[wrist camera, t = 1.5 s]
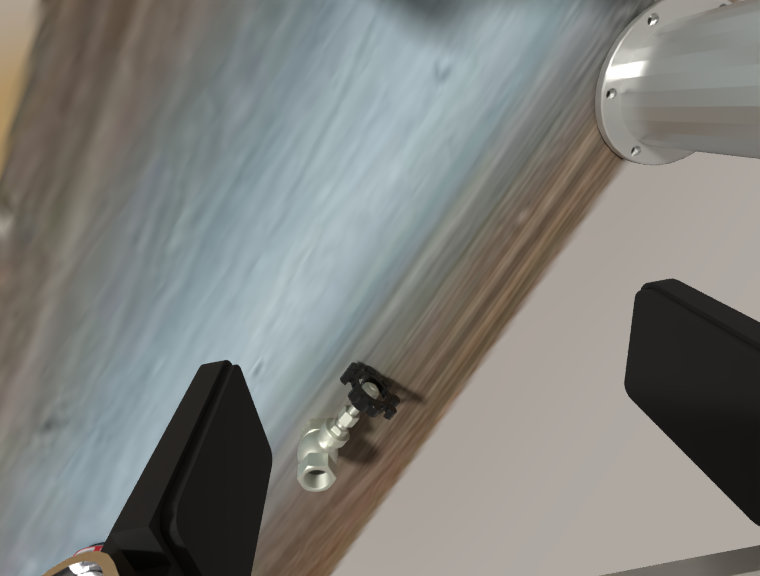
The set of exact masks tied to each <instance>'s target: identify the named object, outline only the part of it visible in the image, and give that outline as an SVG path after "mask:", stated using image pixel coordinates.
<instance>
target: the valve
mask: <svg viewBox="0 0 760 576" xmlns="http://www.w3.org/2000/svg"><path fill="white" fill-rule="evenodd" d="M359 379H364V380H363V381H362V383H361V384H360V383H359ZM340 380H341V382H342V383H343V384H344V385H346V384H347V382H350V383H351V385H352V388H353V389H352V390H351V391H350V392H349V394H348V398H349V400H350V401H351V403H352V405H346V406H344V408H343V409H342V410H341V411H340V412H339V414H338V418H337V419H335V418H329V419H310V420H309V422H308V423H307V424H306V425H305V427H304V428H303V429H302V431H301V442H300V445H299V448H298V454H297V455H298V462H299V465H298V473H297V479H298V481H299V483H300V484H301V485H302V487H303V488H304V489H305V490H307V491H315V492H317V491H324V490H327V489H328V488H329V487H330V486H331V485H332V484H333V483H334V481H335V480H336V478H337V465H336V462H337V458H338V448H341V447H342V446H343V445H344V444H345V443H346V442H347V441H348V440H349V436H350V435H349V431H348V427H353V426H354V424H355V423H356V422H357V421H358V420H359V411H360V412H367V414H368V415H369V416H371V417H375V416H376V415H377V414H380V413H382V412H383V411H385V412H386V413H385V414H384V417H385V418H386V419H388V420H390V419H391V418H392V417H393V416H394V415H395V414H396V412H397V410H396V407H397V405H398V404H399V403H400V399H399V398H398V397H397V396H396V395H394V394H390V392H389V391H388V390H389V389H390V387H391V384H390V382H389V381H388V380H386V379H383V380H382V381H381V380H379V379H378V378H377V377H376V376H375V370H374V369H373V368H371V367H369V366H367V367H366V368H365V370H364V371H362V370H361V368H360V366H359V365H358V364H357V363H354V362H353V363H351V365H350V366H349V367H348V368H347V370H346V371H345V372H344V374H343V375H342V376H341V377H340ZM370 382H371V383H370ZM377 388H378V389H377ZM379 391H380V392H381V394H382V396H383V401H379V400H376V398H377V397H378V396H379Z"/></svg>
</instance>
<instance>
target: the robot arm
mask: <svg viewBox="0 0 760 576" xmlns="http://www.w3.org/2000/svg"><path fill="white" fill-rule="evenodd" d="M606 94H607V96H606ZM595 113H596V119H597V123H598V128H599V130H600V133H601V135H602V137H603V139H604V141H605V142H606V144H607V145H608V146H609V147H610V149H611V150H612V151H613V152H615V153H616V154H617V155H619V156H620V157H621V158H623V159H626V160H628V161H630V162H634V163H639V164H644V165H662V164H668V163H672V162H675V161H677V160H680V159H683V158H685V157H687V156H688V155H690V154H692V153H694V152H696V151H698V152H707V153H715V154H724V155H732V156H741V157H750V158H758V159H760V0H744V1H741V2H737V3H732V2H731V1H729V0H661V1H659V2H657V3H655V4H654V5H652V6H650V7H649V8H647V9H645V10H644V11H643V12H642V13H640V14H639V15H638V16H637V17H636V18H635V19H633V20H632V21H631V22H630V23H629V24H628V26H627V27H626V28H625V29H624V30H623V31H622V33H621V34H620V35H619V36H618V38H617V39H616V41H615V43H614V44H613V46H612V47H611V49H610V50H609V52H608V55H607V57H606V59H605V61H604V63H603V66H602V68H601V72H600V75H599V79H598V82H597V88H596V96H595ZM624 385H625V389H626V392H627V394H628V396H629V397H630V398H631V399H632V400H633V401H634V402H635V404H637V405H638V407H639V408H640V409H641V410H643V412H645V414H646V415H648V416H649V418H650V419H651V420H652V421H653V422H654V423H655V424H656V425H658V427H659V428H660V429H661V430H662V431H663V432H664V433H665V434H666V435H667V436H668V437H669V438H670V439H671V440H672V441H673V442H674V443H675V444H676V445H677V446H678V447H679V448H680V449H681V450H682V451H683V452H684V453H685V454H686V455H687V456H688V457H689V458H690V459H691V460H692V461H693V462H694V463H695V464H696V465H697V466H698V467H699V468H700V469H701V470H702V471H703V472H704V473H705V474H706V475H707V476H708V477H709V478H710V479H711V480H712V481H713V482H714V483H715V484H716V485H717V486H718V487H719V488H720V489H721V490H722V491H723V492H724V493H725V494H726V495H727V496H728V497H729V498H730V499H731V500H732V501H733V502H734V503H735V504H736V505H737V506H738V507H739V508H740V509H741V510H742V511H743V512H744V513H745V514H746V516H748V517H749V519H750V520H752V521H753V522H754V523H755V524H757V525H758V526H760V322H758V321H756V320H754V319H752V318H750V317H748V316H746V315H745V314H742V313H741V312H739V311H737V310H735V309H733V308H731V307H729V306H727V305H725V304H723V303H721V302H719V301H717V300H715V299H713V298H712V297H710V296H707V295H706V294H704V293H702V292H700V291H698V290H696V289H694V288H692V287H690V286H688V285H686V284H684V283H682V282H681V281H678V280H676V279H666V280H660V281H655V282H650V283H646V284H644V285H643V286H642V288H641V290H640V291H638V292H637V294H636V296H635V301H634V309H633V317H632V325H631V333H630V342H629V349H628V357H627V365H626V373H625V381H624ZM271 468H272V452H271V448H270V445H269V443H268V440H267V437H266V435H265V432H264V429H263V427H262V424H261V421H260V419H259V416H258V413H257V411H256V408H255V405H254V402H253V400H252V397H251V394H250V392H249V389H248V386H247V384H246V381H245V378H244V376H243V373H242V370H241V368H240V366H239V365H232V363H231V362H230V361H228V360H224V361H219V362H213V363H208V364H203V365H201V366H200V368H199V369H198V371H197V373H196V375H195V377H194V379H193V380H192V382H191V384H190V386H189V388H188V390H187V391H186V393H185V395H184V397H183V399H182V401H181V403H180V404H179V406H178V408H177V410H176V412H175V414H174V415H173V417H172V419H171V421H170V423H169V425H168V427H167V428H166V430H165V432H164V434H163V436H162V438H161V439H160V441H159V443H158V445H157V447H156V449H155V450H154V452H153V454H152V456H151V458H150V460H149V462H148V463H147V465H146V467H145V469H144V471H143V473H142V474H141V476H140V478H139V480H138V482H137V484H136V486H135V487H134V489H133V491H132V493H131V495H130V497H129V498H128V500H127V502H126V504H125V506H124V508H123V510H122V511H121V513H120V515H119V517H118V519H117V521H116V522H115V524H114V526H113V528H112V530H111V532H110V534H109V536H108V538H107V539H106V541H105V543H104V545H103V547H102V549H101V551H100V552H99V551H93V552H84V553H81V554H78V555H76V556H73V557H70V558H68V559H66V560H64V561H63V562H61V563H59V564H58V565H56V566H54V567H53V568H51V569H50V570H48V571H47V572H46V573H45V574H43V575H42V576H251V572H252V566H253V561H254V556H255V551H256V546H257V541H258V535H259V530H260V525H261V520H262V515H263V509H264V504H265V499H266V494H267V489H268V483H269V478H270V473H271ZM602 576H760V545H759V546H753V547H748V548H743V549H738V550H732V551H727V552H722V553H717V554H711V555H705V556H700V557H695V558H689V559H685V560H679V561H674V562H669V563H663V564H658V565H653V566H648V567H643V568H638V569H633V570H627V571H623V572H617V573H612V574H606V575H602Z"/></svg>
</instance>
